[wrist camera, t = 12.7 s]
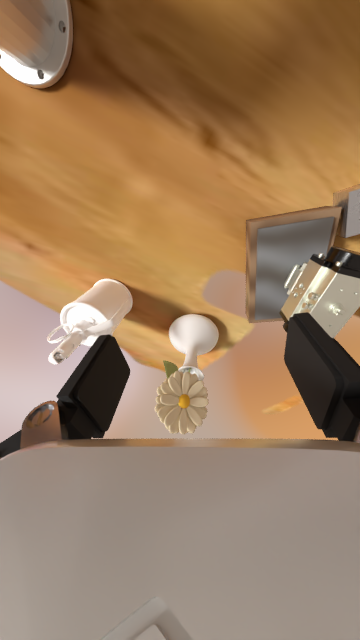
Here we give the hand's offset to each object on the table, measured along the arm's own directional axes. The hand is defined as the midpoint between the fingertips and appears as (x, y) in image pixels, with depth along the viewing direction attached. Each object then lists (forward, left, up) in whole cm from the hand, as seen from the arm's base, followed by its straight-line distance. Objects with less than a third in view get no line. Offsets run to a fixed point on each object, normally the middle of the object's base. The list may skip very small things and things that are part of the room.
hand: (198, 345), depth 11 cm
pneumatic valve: (+6, +14, -25) cm, 29 cm away
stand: (+6, +13, -29) cm, 32 cm away
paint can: (+8, -21, -29) cm, 37 cm away
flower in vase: (+18, -5, -29) cm, 35 cm away
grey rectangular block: (-2, +22, -29) cm, 37 cm away
